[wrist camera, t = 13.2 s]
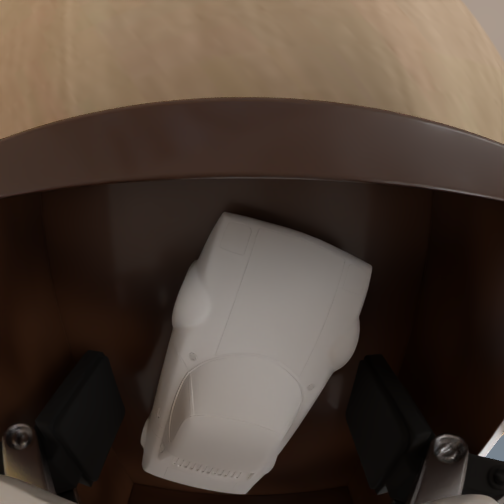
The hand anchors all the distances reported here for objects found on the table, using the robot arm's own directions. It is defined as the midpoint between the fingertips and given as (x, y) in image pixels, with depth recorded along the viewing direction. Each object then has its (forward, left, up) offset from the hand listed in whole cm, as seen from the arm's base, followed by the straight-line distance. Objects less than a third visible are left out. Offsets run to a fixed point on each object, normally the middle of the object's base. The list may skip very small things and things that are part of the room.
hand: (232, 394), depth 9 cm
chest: (+1, +2, -2) cm, 3 cm away
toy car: (0, 0, -1) cm, 1 cm away
